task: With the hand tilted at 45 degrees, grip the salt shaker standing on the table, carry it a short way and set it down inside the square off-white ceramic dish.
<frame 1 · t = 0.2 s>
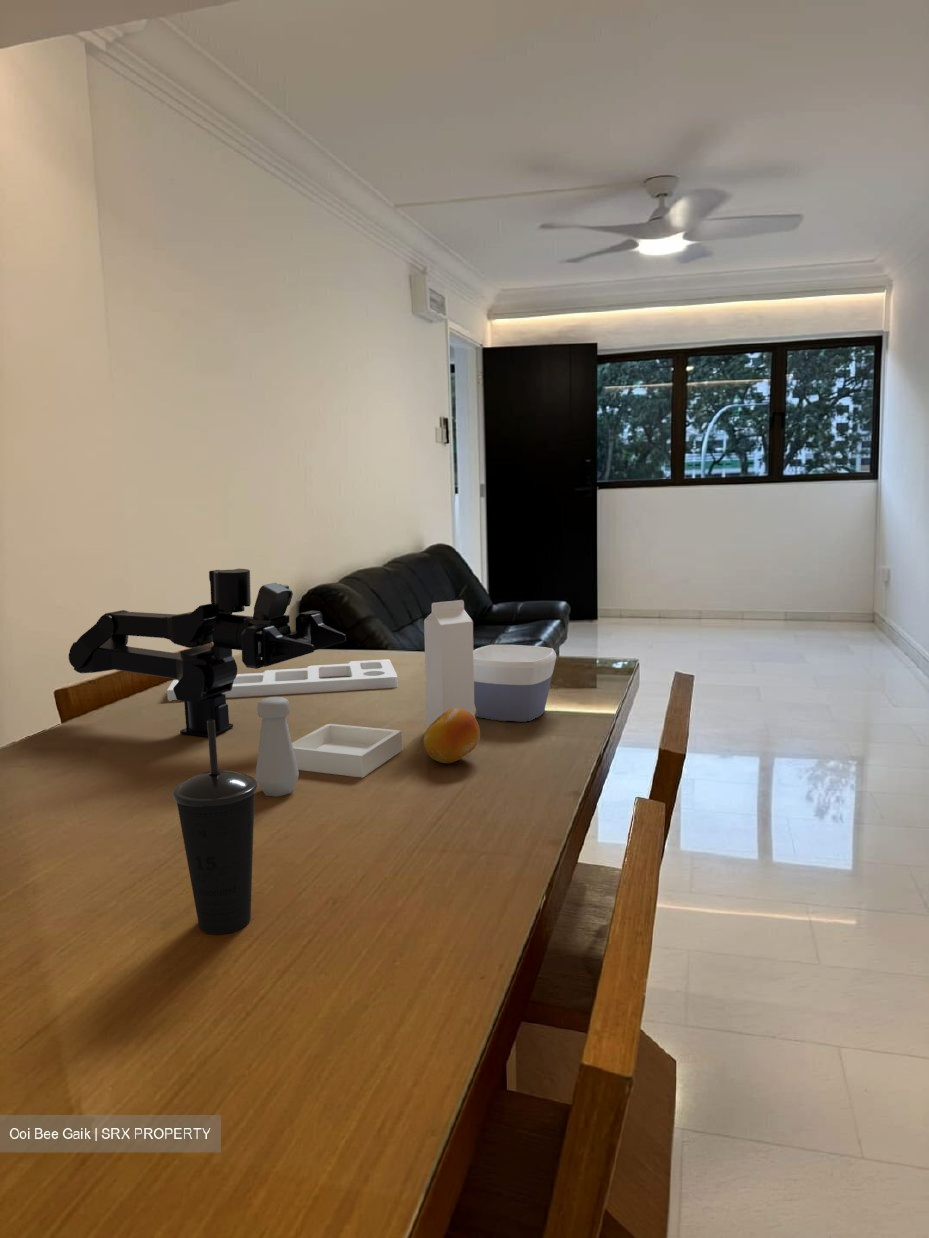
hand: (330, 643, 135), 17 cm above the table, tool horizontal, fingers open, 9 cm apart
milk: (450, 733, 144), on the table
holder: (286, 687, 181), on the table
dish: (344, 759, 131), on the table
bowl: (511, 714, 155), on the table
drinking cup: (224, 923, 83), on the table
salt shaker: (278, 792, 118), on the table
fruit: (452, 763, 129), on the table
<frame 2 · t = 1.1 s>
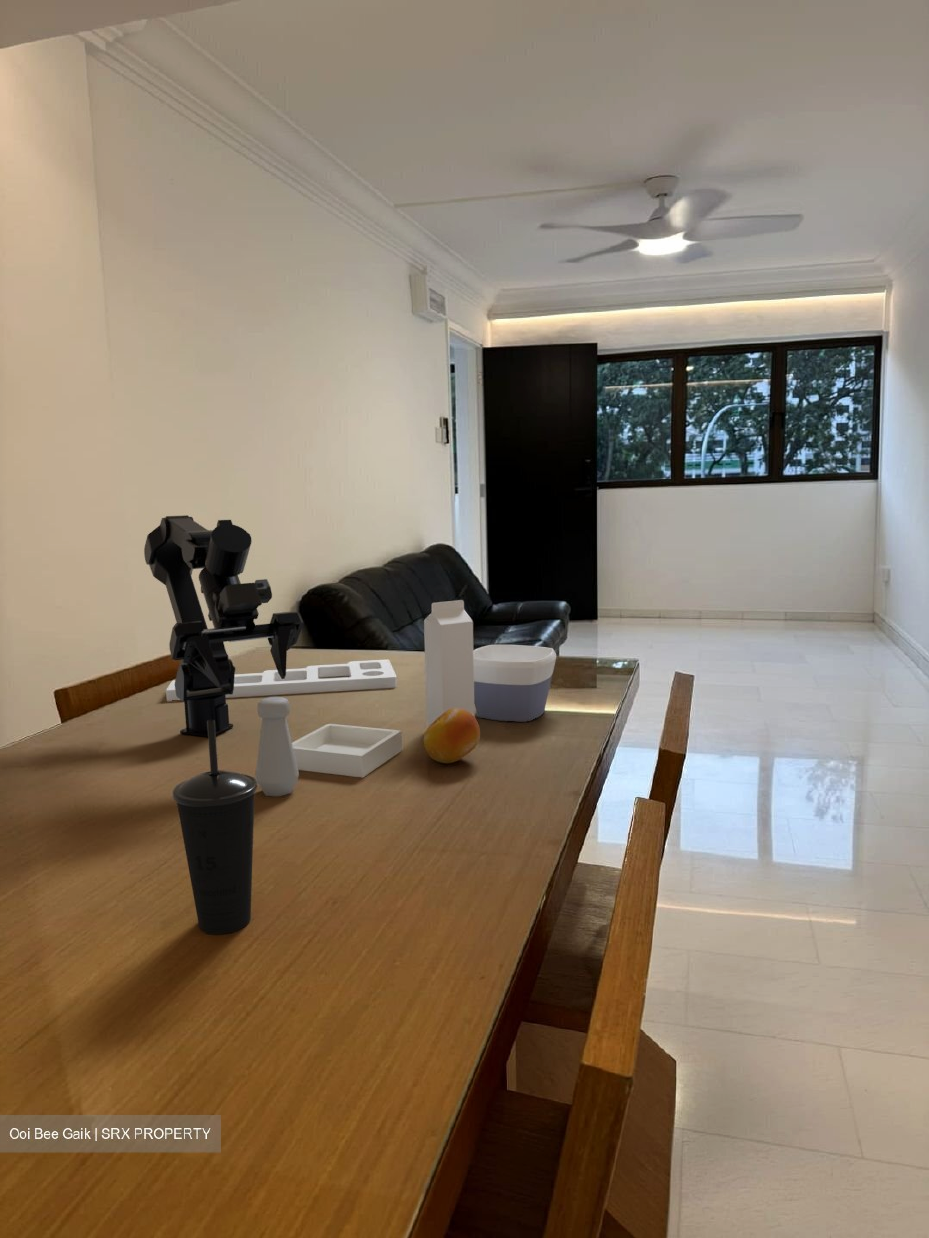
hand: (253, 681, 123), 14 cm above the table, tool tilted 45°, fingers open, 9 cm apart
nothing on the table moved.
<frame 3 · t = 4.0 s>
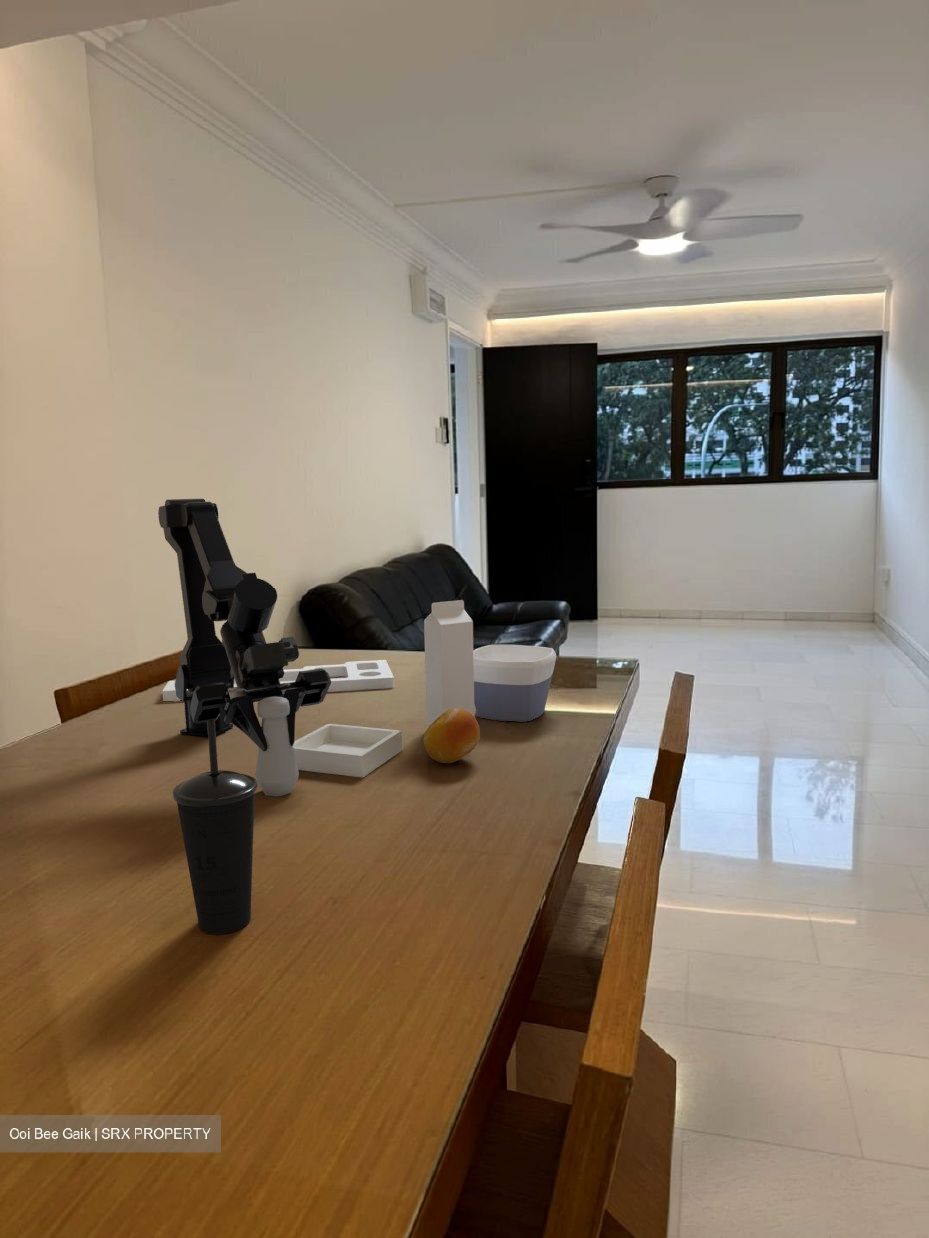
hand: (279, 747, 116), 7 cm above the table, tool tilted 45°, fingers closed on salt shaker, 3 cm apart
salt shaker: (278, 792, 118), on the table, touching gripper
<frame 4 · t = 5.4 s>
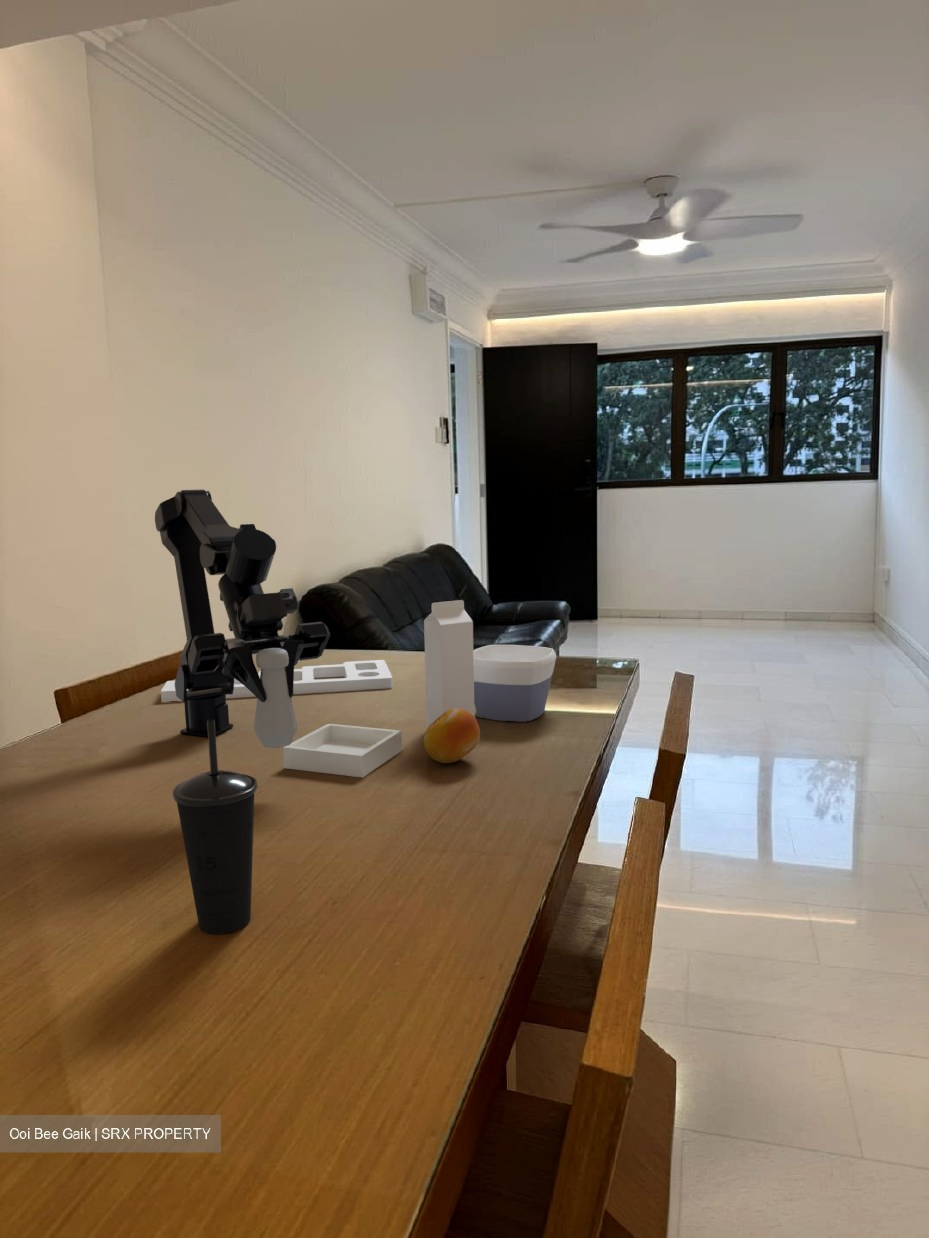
hand: (277, 698, 115), 13 cm above the table, tool tilted 45°, fingers closed on salt shaker, 3 cm apart
salt shaker: (276, 744, 117), point 6 cm above the table, touching gripper
when the fingers open (8 cm above the table, at t = 7.9 s): salt shaker stays where it is, resting on dish.
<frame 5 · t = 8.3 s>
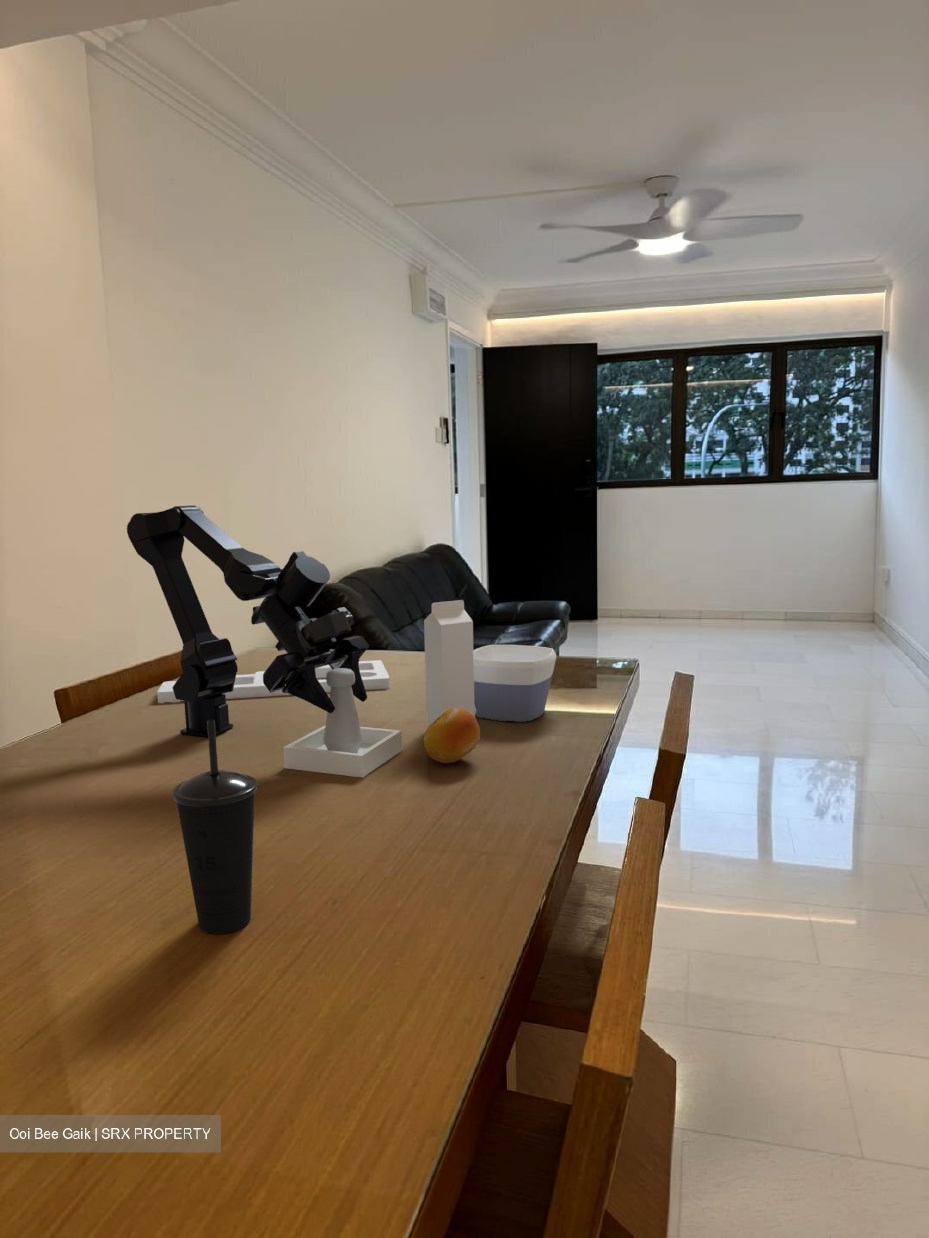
hand: (349, 705, 129), 9 cm above the table, tool tilted 45°, fingers open, 7 cm apart
salt shaker: (343, 754, 131), point 1 cm above the table, touching dish
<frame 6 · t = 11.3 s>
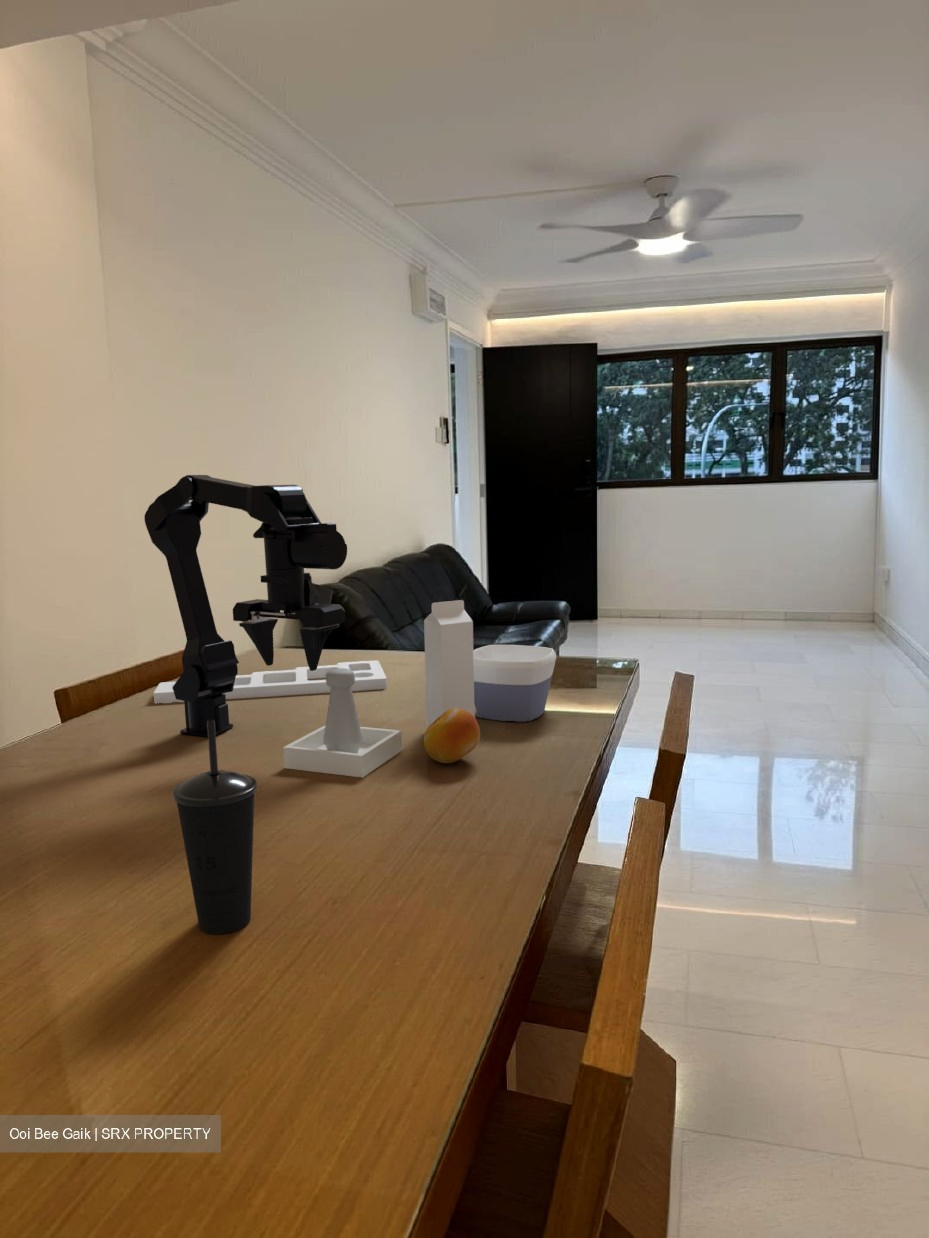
hand: (291, 667, 134), 13 cm above the table, tool pointing down, fingers open, 9 cm apart
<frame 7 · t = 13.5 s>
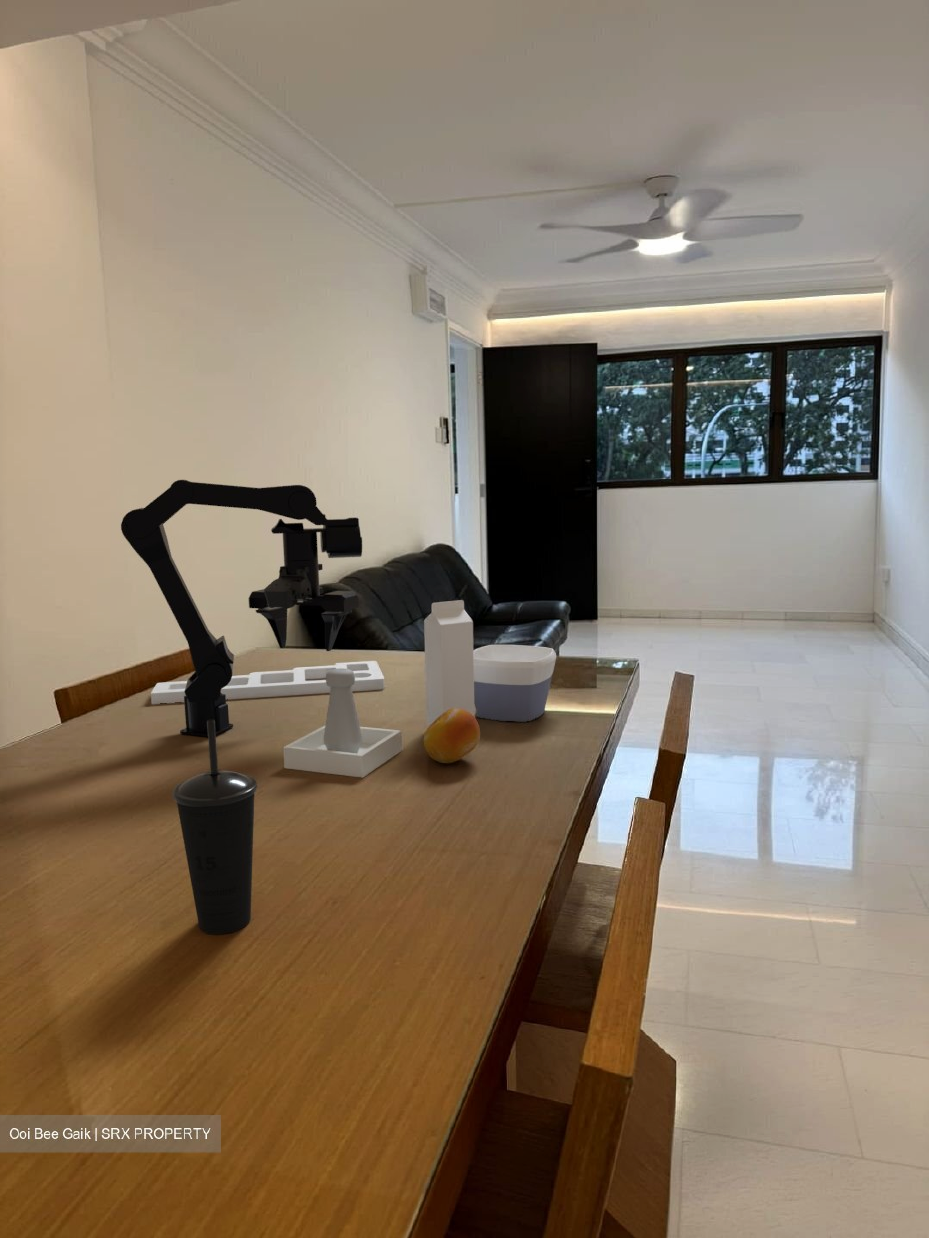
hand: (305, 649, 149), 13 cm above the table, tool pointing down, fingers open, 9 cm apart
at the end: salt shaker inside the target area on the dish (0.2 cm from its centre), point 0.6 cm above the dish's base; salt shaker tilted 0°; the gripper is holding nothing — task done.
